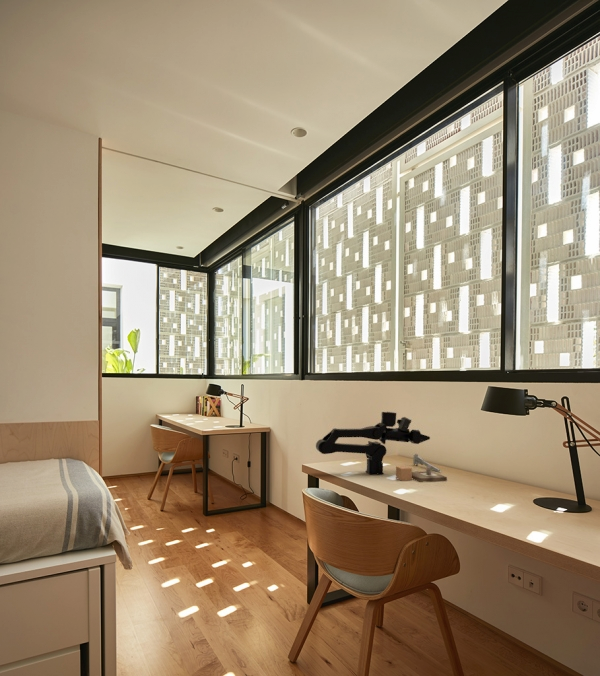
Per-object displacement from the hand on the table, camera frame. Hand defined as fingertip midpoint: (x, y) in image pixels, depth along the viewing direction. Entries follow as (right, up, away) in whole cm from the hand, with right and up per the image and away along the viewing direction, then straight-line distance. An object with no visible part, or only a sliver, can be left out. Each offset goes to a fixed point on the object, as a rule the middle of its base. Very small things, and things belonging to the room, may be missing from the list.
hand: (425, 437), depth 218 cm
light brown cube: (-14, -14, -17) cm, 27 cm away
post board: (-4, -15, -15) cm, 21 cm away
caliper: (+3, -17, +7) cm, 19 cm away
